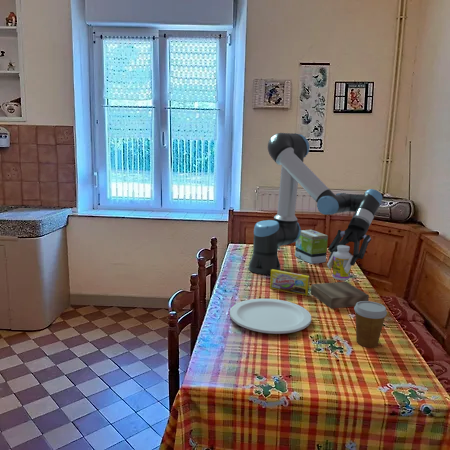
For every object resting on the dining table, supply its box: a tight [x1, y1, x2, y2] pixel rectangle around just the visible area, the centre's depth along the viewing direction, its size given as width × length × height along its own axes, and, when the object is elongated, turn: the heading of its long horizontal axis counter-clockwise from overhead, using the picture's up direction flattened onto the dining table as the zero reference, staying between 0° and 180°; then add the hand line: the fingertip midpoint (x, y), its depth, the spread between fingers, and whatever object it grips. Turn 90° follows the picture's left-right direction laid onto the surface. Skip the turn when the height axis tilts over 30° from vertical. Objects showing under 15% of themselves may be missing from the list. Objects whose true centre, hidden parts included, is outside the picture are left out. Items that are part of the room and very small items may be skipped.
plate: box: [229, 298, 312, 335], centre depth 144 cm, size 28×28×2 cm
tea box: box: [294, 229, 329, 265], centre depth 219 cm, size 15×10×15 cm, turn 25°
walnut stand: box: [310, 281, 370, 309], centre depth 164 cm, size 16×16×4 cm
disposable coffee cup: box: [353, 300, 388, 348], centre depth 127 cm, size 10×10×12 cm
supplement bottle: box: [331, 244, 352, 281], centre depth 162 cm, size 7×7×13 cm
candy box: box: [269, 269, 310, 297], centre depth 171 cm, size 16×2×8 cm, turn 62°
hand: (337, 269), depth 159 cm, fingers closed on supplement bottle, 7 cm apart
